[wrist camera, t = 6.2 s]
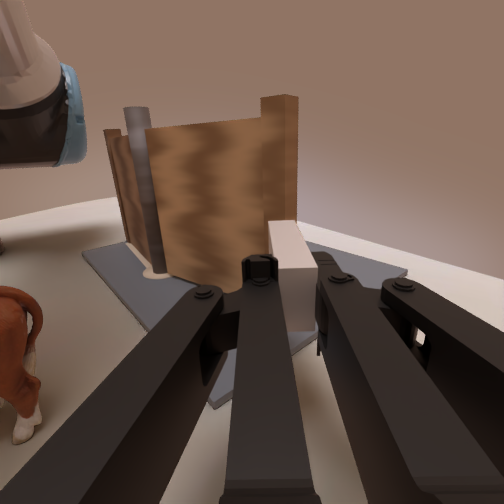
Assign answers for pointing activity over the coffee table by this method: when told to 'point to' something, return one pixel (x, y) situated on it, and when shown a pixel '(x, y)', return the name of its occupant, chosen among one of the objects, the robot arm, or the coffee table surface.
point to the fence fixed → (136, 186)
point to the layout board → (173, 288)
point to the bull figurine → (19, 359)
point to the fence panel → (224, 189)
